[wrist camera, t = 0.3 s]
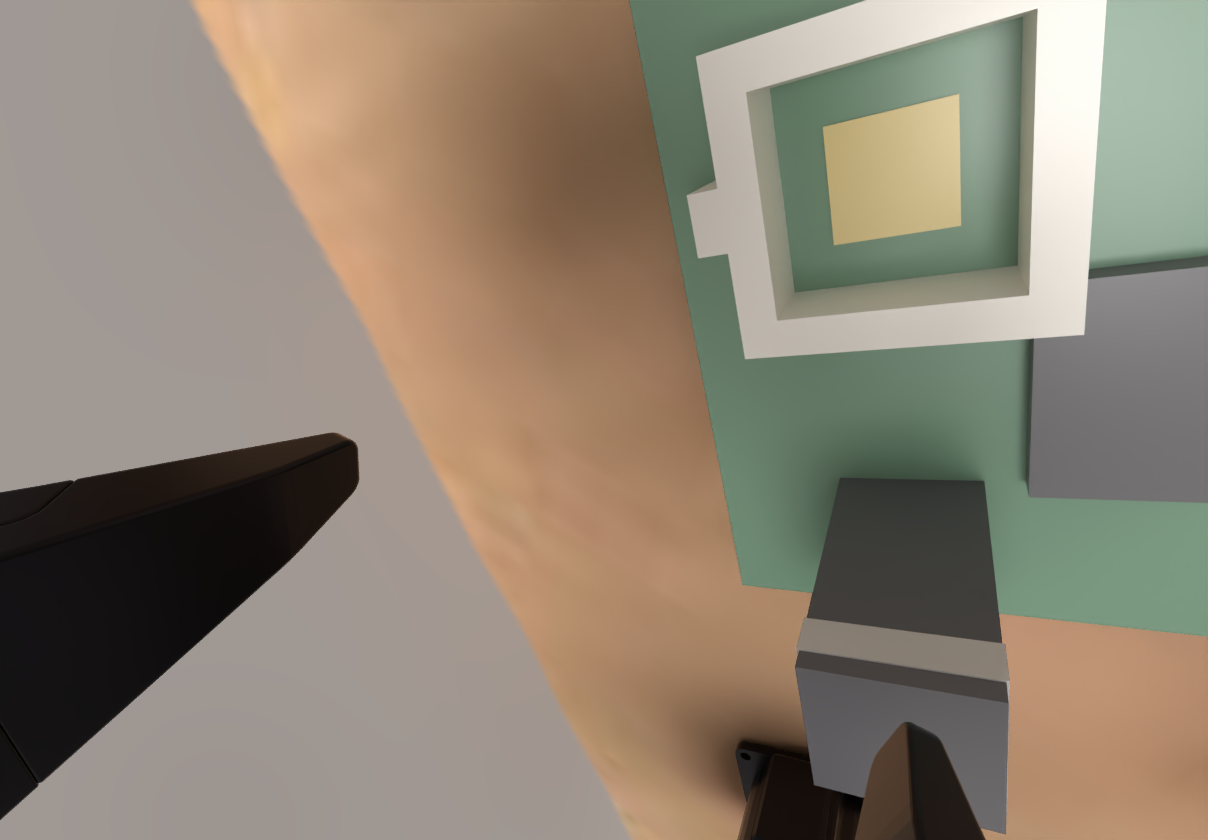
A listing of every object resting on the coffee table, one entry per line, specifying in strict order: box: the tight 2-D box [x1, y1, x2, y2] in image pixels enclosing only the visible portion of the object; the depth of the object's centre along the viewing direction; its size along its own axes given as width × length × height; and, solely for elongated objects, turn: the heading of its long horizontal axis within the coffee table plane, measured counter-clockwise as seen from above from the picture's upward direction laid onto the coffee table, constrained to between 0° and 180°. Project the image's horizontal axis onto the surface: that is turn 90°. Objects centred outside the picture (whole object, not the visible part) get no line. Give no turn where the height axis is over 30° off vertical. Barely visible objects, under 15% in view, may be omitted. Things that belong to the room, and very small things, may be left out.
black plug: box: [795, 478, 1010, 834], centre depth 17 cm, size 4×4×8 cm
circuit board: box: [629, 0, 1208, 637], centre depth 16 cm, size 20×14×4 cm
